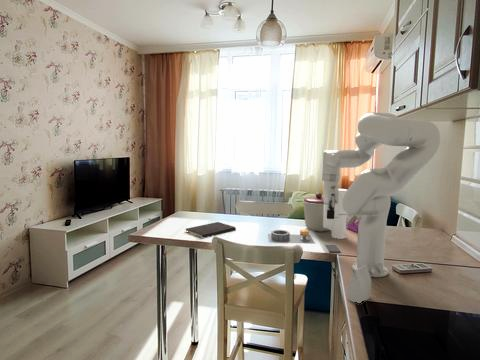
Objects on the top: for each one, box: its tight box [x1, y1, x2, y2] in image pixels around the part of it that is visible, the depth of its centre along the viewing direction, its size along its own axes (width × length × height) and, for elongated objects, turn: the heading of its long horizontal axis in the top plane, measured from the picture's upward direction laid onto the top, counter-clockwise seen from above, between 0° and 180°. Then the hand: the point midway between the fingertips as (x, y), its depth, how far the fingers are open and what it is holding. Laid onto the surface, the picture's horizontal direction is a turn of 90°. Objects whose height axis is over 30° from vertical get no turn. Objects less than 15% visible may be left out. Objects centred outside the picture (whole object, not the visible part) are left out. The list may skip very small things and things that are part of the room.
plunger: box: [299, 229, 310, 240], centre depth 152 cm, size 4×4×4 cm
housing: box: [267, 229, 316, 244], centre depth 152 cm, size 14×22×4 cm, turn 87°
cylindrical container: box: [330, 188, 348, 240], centre depth 158 cm, size 7×7×25 cm
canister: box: [302, 192, 330, 232], centre depth 172 cm, size 18×18×21 cm
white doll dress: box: [347, 265, 372, 304], centre depth 94 cm, size 4×7×10 cm, turn 130°
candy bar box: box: [346, 213, 362, 234], centre depth 171 cm, size 11×5×16 cm, turn 22°
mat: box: [324, 244, 342, 254], centre depth 140 cm, size 9×9×1 cm
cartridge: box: [323, 201, 336, 230], centre depth 138 cm, size 5×5×12 cm
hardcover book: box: [185, 221, 237, 238], centre depth 169 cm, size 16×23×2 cm
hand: (328, 216), depth 139 cm, fingers closed on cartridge, 5 cm apart
